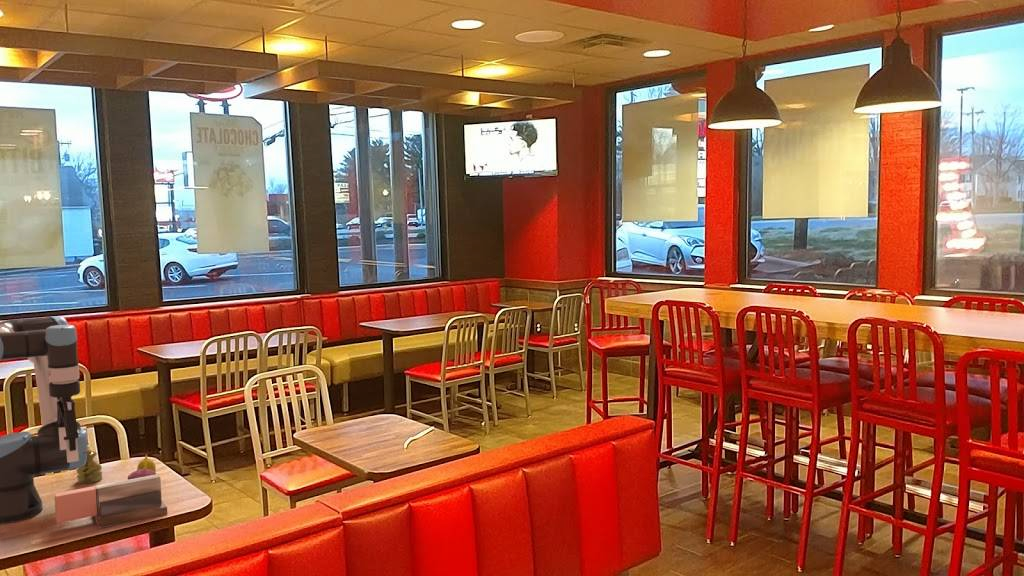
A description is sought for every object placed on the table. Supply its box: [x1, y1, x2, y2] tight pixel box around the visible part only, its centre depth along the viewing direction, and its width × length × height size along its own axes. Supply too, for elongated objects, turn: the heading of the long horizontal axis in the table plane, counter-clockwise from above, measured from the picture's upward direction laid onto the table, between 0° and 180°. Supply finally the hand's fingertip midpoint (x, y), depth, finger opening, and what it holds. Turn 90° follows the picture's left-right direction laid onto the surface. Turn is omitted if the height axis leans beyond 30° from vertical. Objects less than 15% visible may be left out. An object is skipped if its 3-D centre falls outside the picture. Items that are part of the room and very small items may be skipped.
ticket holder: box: [93, 473, 168, 529], centre depth 237 cm, size 12×18×10 cm, turn 125°
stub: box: [54, 485, 97, 524], centre depth 229 cm, size 3×10×8 cm, turn 125°
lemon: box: [136, 458, 157, 472], centre depth 264 cm, size 6×6×8 cm
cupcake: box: [127, 453, 157, 480], centre depth 255 cm, size 9×8×12 cm
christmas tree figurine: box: [76, 449, 103, 485], centre depth 266 cm, size 7×7×10 cm
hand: (69, 455), depth 227 cm, fingers open, 13 cm apart
